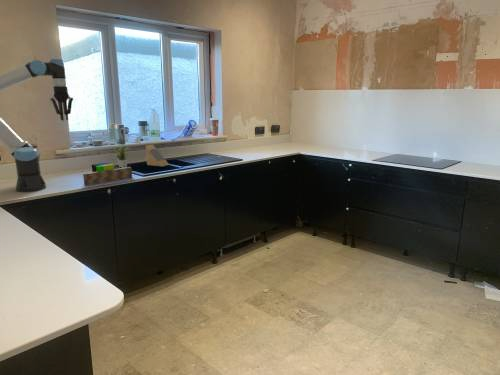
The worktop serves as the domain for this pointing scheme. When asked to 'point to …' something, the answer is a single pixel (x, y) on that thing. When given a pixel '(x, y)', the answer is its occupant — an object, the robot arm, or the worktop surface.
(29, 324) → the worktop surface
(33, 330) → the worktop surface
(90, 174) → the walnut board
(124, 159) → the house plant
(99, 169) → the puzzle toy
